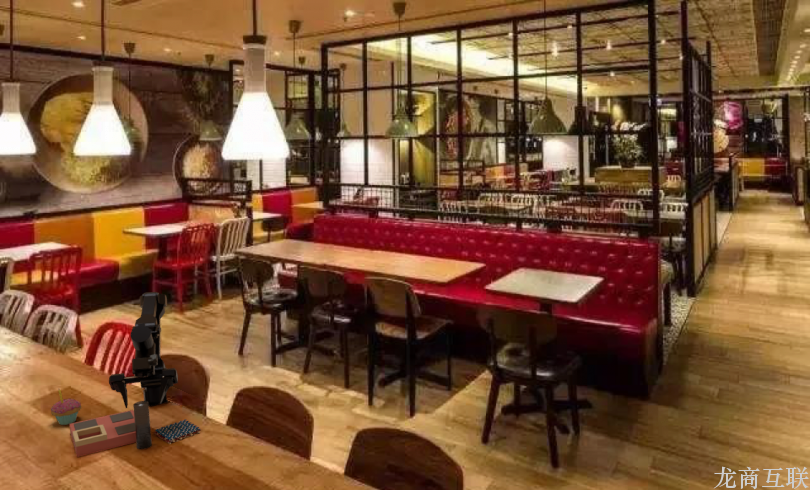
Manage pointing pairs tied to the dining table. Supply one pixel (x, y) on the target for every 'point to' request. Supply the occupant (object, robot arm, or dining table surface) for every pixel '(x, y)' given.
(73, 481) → the dining table surface
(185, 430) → the woven mat
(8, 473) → the dining table surface
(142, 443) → the stool leg
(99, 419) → the pink control box
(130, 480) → the dining table surface
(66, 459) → the dining table surface
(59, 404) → the cupcake
